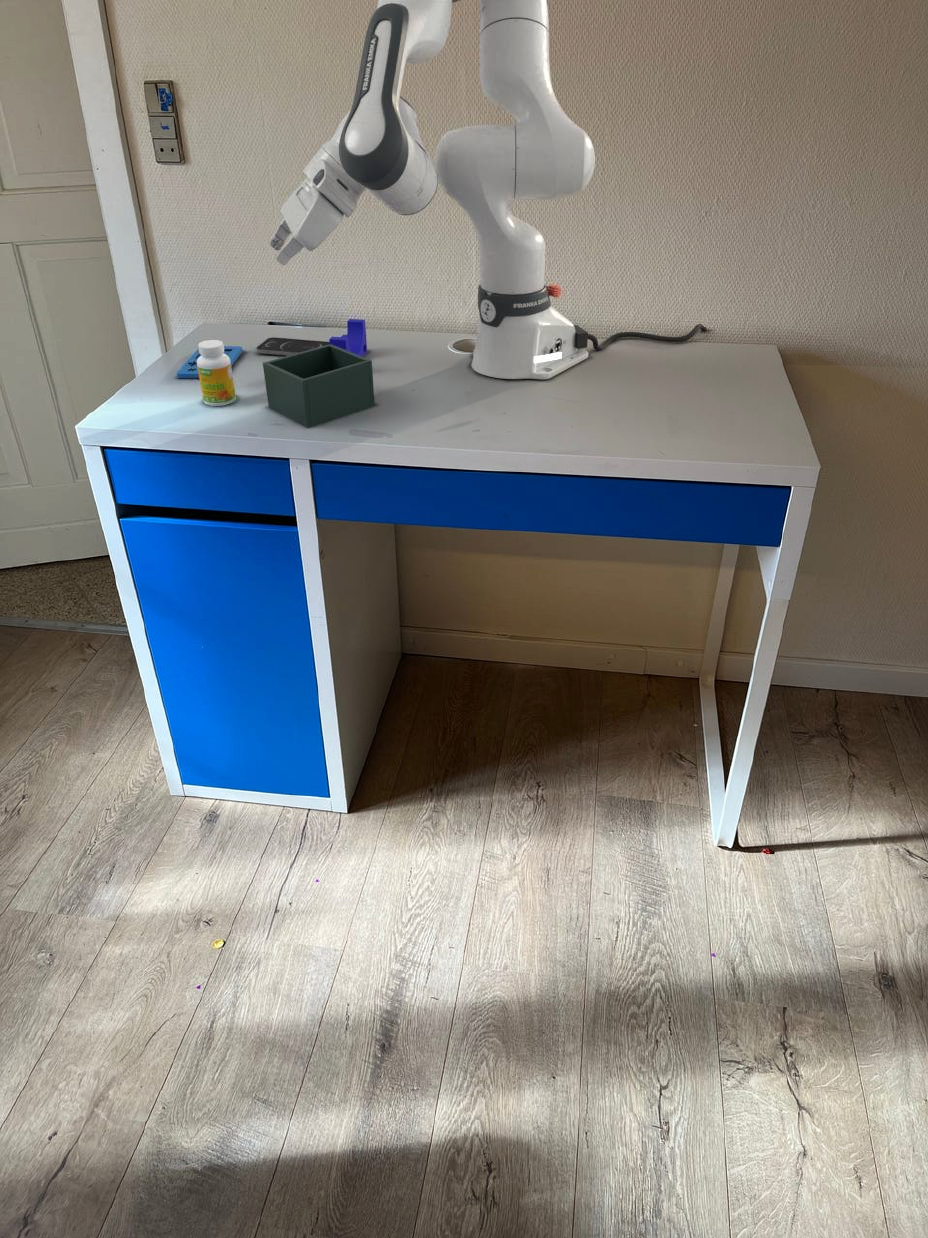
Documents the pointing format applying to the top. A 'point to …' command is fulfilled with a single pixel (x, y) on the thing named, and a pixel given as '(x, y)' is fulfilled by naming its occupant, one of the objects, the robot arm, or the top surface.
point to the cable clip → (353, 338)
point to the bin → (319, 384)
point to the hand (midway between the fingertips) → (275, 253)
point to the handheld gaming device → (191, 365)
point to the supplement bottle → (215, 374)
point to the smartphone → (288, 346)
